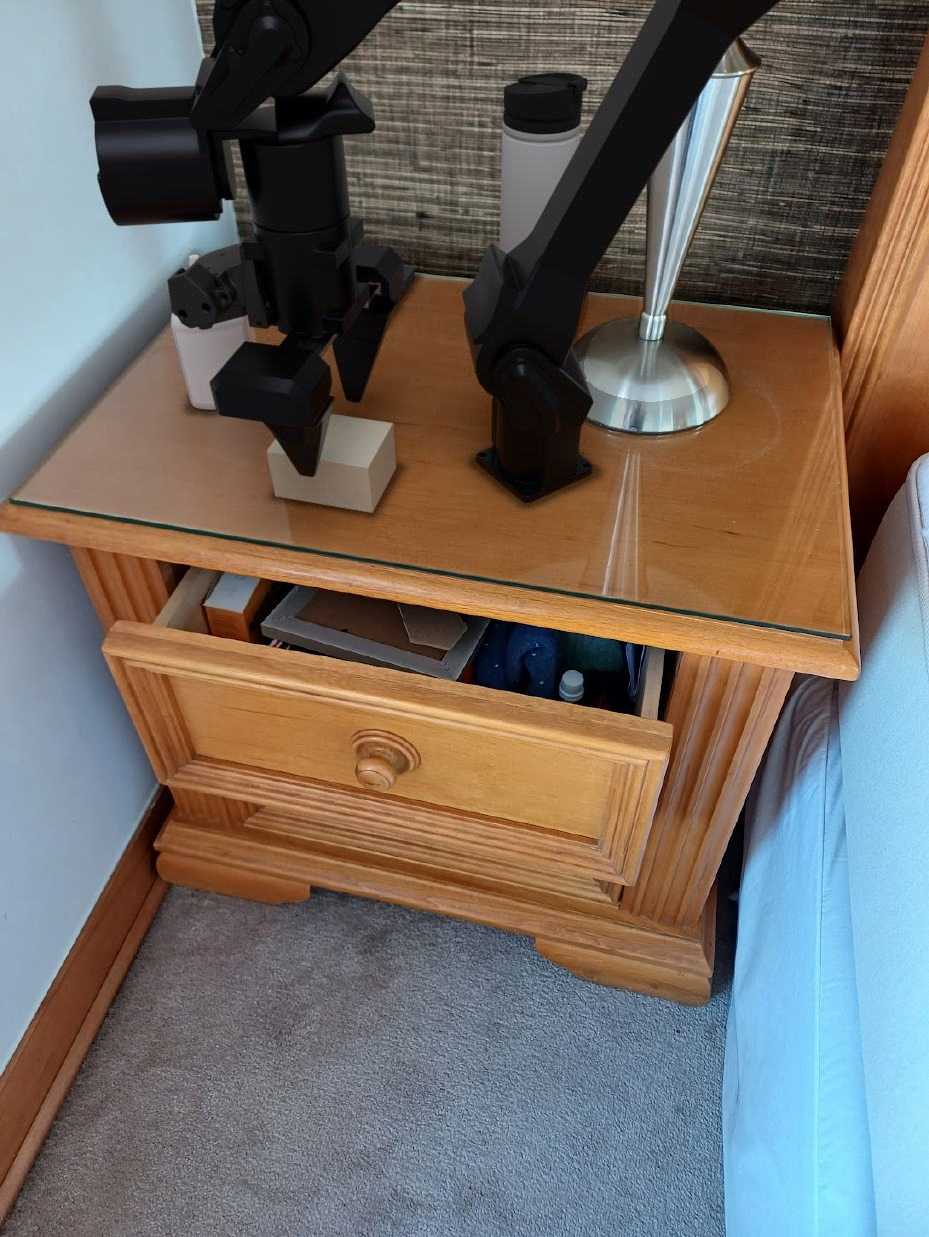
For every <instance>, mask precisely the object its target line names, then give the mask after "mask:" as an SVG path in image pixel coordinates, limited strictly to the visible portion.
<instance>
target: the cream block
mask: <svg viewBox="0 0 929 1237" xmlns="http://www.w3.org/2000/svg"><path fill="white" fill-rule="evenodd" d="M394 431H395V430H394V423H393V422H388V421H383V420H382V421H380V420H374V419H369V418H368V419H367V418H362V417H354V416H349V415H348V416H347V415H341V414H334V413H331V417H330V420H329V424H328V429H327V433H326V437H325V441H324V445H323V449H322V453H321V458H320V461H319V465H318V468H317V472H316V474H315V476H314V477H307V476H301V475H300V474H299V473H298V472H297V470H296V469H295V467H294V466H293V464H292V463H291V461H290V460H289V458H288V457H287V455H286V454H285V452H284V450H283V449H282V447H281V446H280V444H279V443H278V441H277V440H276V438H275V437H274V438H275V439H273V441H272V442H271V444H270V446H268V448H267V450H266V457H267V462H268V467H269V471H270V477H271V482H272V486H273V492H274V496H275V497H277V498H282V499H289V500H295V501H298V502H299V501H301V502H307V503H312V504H317V505H324V506H329V507H335V508H340V509H341V508H342V509H346V510H353V511H359V512H364V513H371V514H373V513H374V511H375V509H376V508H377V505H378V504H379V502H380V500H381V498H382V496H383V494H384V492H385V490H386V488H387V486H388V484H389V482H390V481H391V479H392V477H393V475H394V473H395V471H396V469H397V459H396V457H397V456H396V447H395V432H394Z"/></svg>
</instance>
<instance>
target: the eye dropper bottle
mask: <svg viewBox="0 0 929 1237" xmlns="http://www.w3.org/2000/svg"><path fill="white" fill-rule="evenodd" d="M199 258H200V256H199V255H198V254H190V255H189V256H188V268H189V267H190V266H191V265H192V264H193V263H194V262H195V261H196V260H198V259H199ZM170 326H171V332H172V336H173V340H174V344H175V348H176V351H177V356H178V360H179V364H180V368H181V371H182V376H183V379H184V382H185V386H186V391H187V394H188V399H189V402H190V403H191V405H192V407H193V408H196V409H200V410H206V411H207V410H209V411H217V410H216V408H215V404H214V400H213V396H212V391H211V387H210V383H209V382H210V381H211V379H212V378H213V377H214V376H215V375H216V373H217V372H218V371H219V370H220V369H221V368H222V366H223V365H224V364H225V363H226V362H227V361H228V359H229V358H230V357H231V356H232V355H233V353H234V352H235V351H236V350H237V349H238V348H239V347H240V346H241V345H242V344H243V343H244V342H245V341H248V342H251V338H250V333H249V328H248V323H247V319H246V316H243V317H240V318H236V319H232V320H228V321H225V322H221V323H217V324H213V327H212V328H210V329H206V330H200V329H199V328H198V327H196V328H188V327H187V326H185V325H183V324H182V323H181V322H180V320H179V319H178V317H177V316H175V315H174V314H173V312H171V316H170Z"/></svg>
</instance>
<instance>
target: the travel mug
mask: <svg viewBox="0 0 929 1237" xmlns="http://www.w3.org/2000/svg"><path fill="white" fill-rule="evenodd" d="M588 83H589V80H588V77H584V76H582V75H580V74H577V73H571V72H545V73H538V74H537V73H536V74H531V75H526V76H523V77H519V78H518V79H517V82H513V83H510V84H506V85H505V86H504V87H503V106H502V107H503V109H504V110H503V113H502V120H501V121H502V124H501V126H502V131H501V165H500V206H499V207H500V210H499V211H500V212H499V247H498V248H499V249H501V250H502V251H504V252H505V253H506V254H507V253H509V252H510V251H511V250H512V249H514V248H515V247H516V246H517V245H518V244H520V243H521V242H522V241H523V240H525V239H526V238H527V237H528V236H529V234H530V233H531V232H532V230H533V229H534V227H535V225H536V223H537V221H538V219H539V218H540V216H541V214H542V212H543V210H544V208H545V206H546V205H547V203H548V201H549V199H550V197H551V195H552V193H553V192H554V190H555V188H556V186H557V184H558V182H559V180H560V179H561V177H562V175H563V173H564V171H565V169H566V167H567V166H568V164H569V162H570V160H571V158H572V156H573V154H574V153H575V151H576V149H577V147H578V145H579V143H580V141H581V129H582V108H583V95H584V92H586V91H587V90H588V86H589V85H588Z"/></svg>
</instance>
